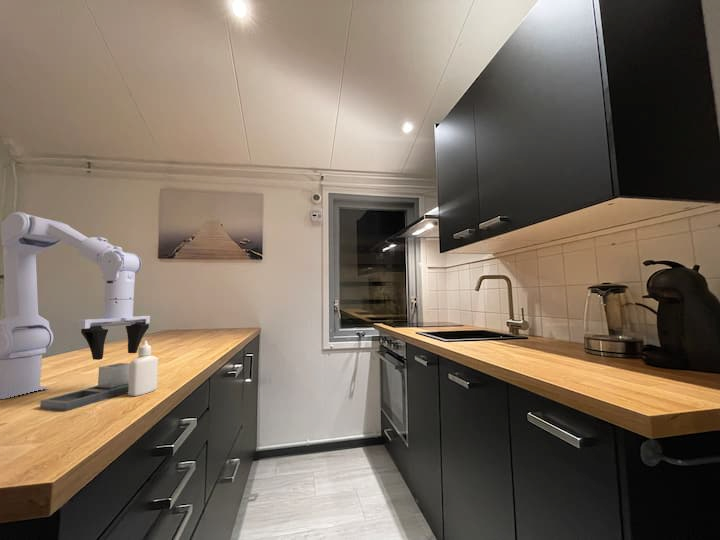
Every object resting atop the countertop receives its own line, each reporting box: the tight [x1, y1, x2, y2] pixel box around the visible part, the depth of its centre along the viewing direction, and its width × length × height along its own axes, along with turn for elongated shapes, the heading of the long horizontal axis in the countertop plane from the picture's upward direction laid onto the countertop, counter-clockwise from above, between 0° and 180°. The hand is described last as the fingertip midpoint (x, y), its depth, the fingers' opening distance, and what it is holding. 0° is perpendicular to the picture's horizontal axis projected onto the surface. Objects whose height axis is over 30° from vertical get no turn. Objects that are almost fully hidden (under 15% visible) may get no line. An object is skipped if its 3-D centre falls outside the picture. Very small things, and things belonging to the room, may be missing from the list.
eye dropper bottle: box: [127, 340, 159, 397], centre depth 68 cm, size 4×6×12 cm
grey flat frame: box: [39, 384, 129, 412], centre depth 65 cm, size 8×15×2 cm, turn 163°
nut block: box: [97, 362, 131, 390], centre depth 69 cm, size 4×4×6 cm
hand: (115, 356), depth 70 cm, fingers open, 7 cm apart
